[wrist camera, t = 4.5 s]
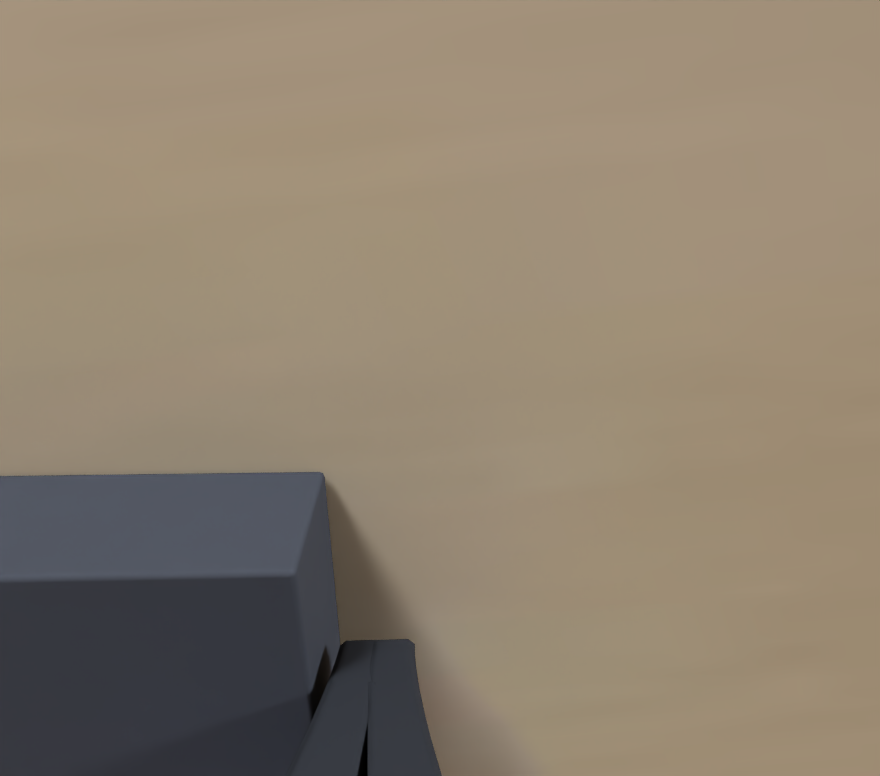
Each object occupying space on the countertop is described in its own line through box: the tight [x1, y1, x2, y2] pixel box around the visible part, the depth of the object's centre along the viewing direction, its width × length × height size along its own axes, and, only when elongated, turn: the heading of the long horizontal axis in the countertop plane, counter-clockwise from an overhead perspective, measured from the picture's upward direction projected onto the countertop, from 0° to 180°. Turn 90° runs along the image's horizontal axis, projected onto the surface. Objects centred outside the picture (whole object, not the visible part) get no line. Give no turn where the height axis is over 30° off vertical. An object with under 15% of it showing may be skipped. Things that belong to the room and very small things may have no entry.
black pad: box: [0, 472, 340, 776], centre depth 10 cm, size 7×9×2 cm
